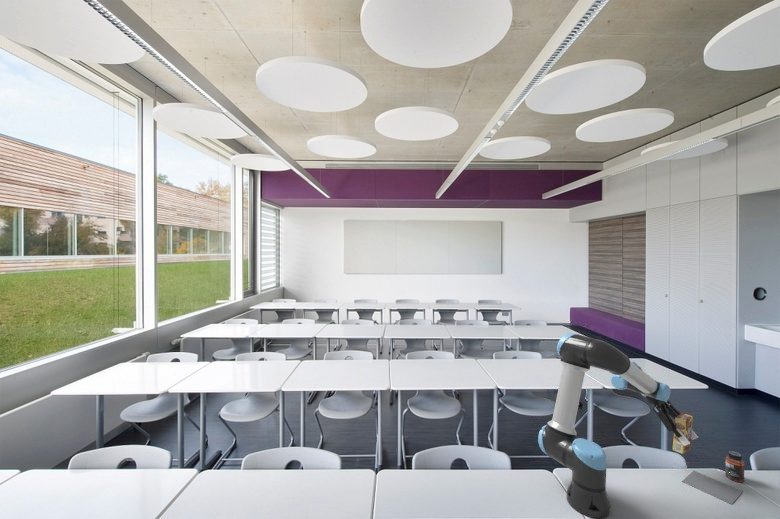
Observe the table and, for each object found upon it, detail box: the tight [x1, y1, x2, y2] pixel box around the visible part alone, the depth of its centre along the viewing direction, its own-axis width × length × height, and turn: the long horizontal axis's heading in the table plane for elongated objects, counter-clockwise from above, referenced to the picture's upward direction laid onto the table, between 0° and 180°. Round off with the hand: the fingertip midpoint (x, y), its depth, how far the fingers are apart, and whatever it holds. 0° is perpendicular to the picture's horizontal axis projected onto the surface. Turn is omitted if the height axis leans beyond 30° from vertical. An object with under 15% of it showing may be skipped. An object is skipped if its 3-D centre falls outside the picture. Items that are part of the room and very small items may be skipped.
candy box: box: [672, 412, 694, 455], centre depth 157 cm, size 9×4×15 cm, turn 123°
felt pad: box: [681, 470, 743, 505], centre depth 149 cm, size 16×14×1 cm
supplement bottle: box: [724, 450, 745, 483], centre depth 155 cm, size 6×6×11 cm
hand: (691, 441), depth 155 cm, fingers closed on candy box, 9 cm apart
